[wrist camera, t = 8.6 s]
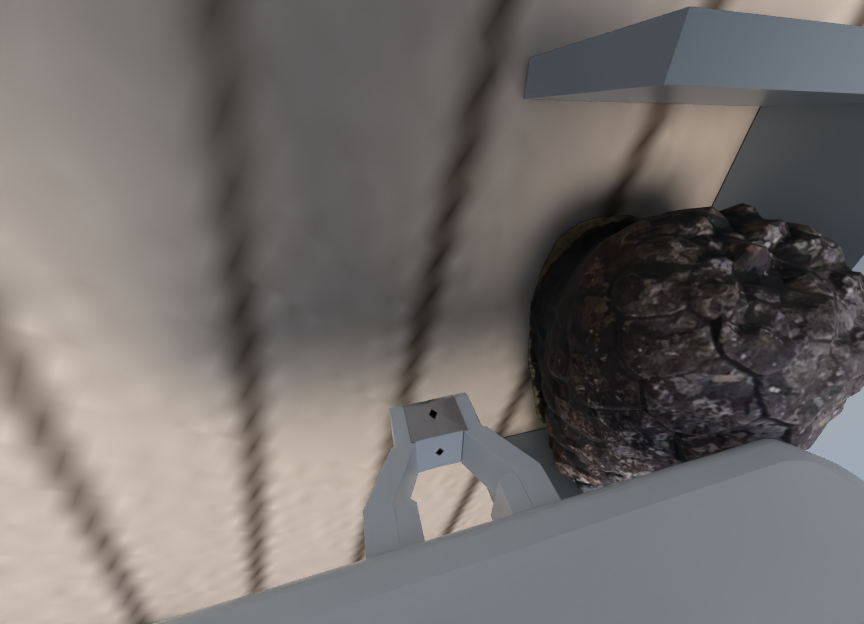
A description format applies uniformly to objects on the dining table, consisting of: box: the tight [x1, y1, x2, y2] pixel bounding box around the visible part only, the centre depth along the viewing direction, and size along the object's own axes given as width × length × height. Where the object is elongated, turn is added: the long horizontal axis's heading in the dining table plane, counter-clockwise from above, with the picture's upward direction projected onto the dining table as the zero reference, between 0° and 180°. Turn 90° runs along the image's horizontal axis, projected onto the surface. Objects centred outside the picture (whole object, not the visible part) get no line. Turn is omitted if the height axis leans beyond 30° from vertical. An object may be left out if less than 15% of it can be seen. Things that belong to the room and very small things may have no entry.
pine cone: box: [529, 203, 864, 493], centre depth 15 cm, size 10×18×10 cm, turn 13°
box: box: [487, 7, 864, 504], centre depth 16 cm, size 23×13×6 cm, turn 179°
